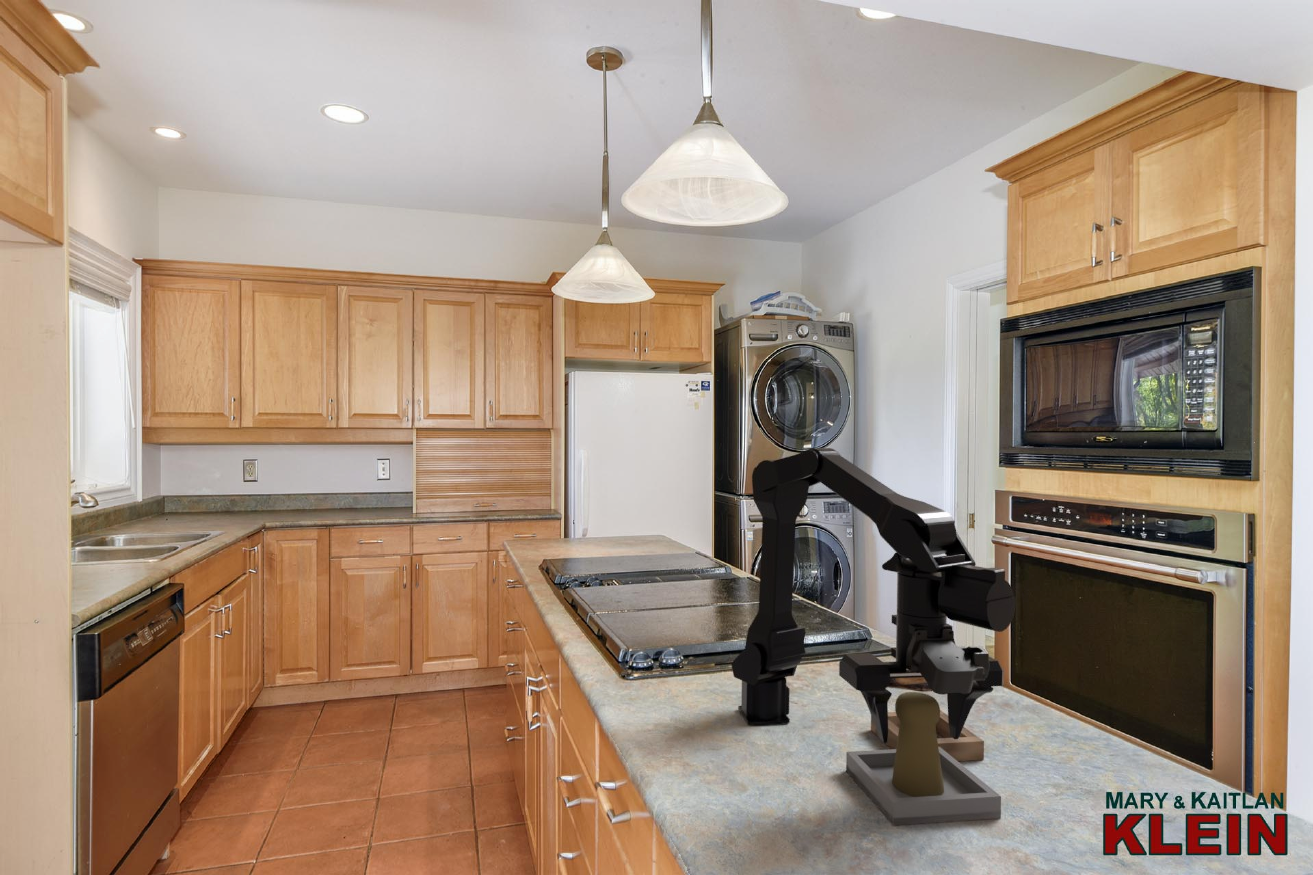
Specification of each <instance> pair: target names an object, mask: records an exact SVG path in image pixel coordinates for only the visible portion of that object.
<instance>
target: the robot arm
mask: <svg viewBox="0 0 1313 875" xmlns="http://www.w3.org/2000/svg"><path fill="white" fill-rule="evenodd" d="M751 475H752V476H751V485H752V497H753V498H752V499H753V501H754V503H755V506H756V508H757V510H758V511H759V513H760V515H761V518H762V524H761V525H762V526H761V548H760V550H761V551H760V574H759V592H758V593H759V595H758V611H757V614H756V615H755V617H754V619H752V620H753V621H751V624H750V625H749V627H748V629H747V634H746V638H745V639H746V640H745V646H744V649H743V650H742V651H741V652H740V653H739V654H738V655H737V656H736V657H735V659H734V660H732V662H731V669H732V673H733V677H734V678H735V679H737V680H739V681H741V705H738V707H737V709H738V711H739V713H740V714H741V716H742V717H743V718H744V720H745V722H746V723H747V724H748V725H749V726H754V725H755V726H756V725H773V724H775V725H776V724H780V725H781V724H789V723H790V721H791V720H790V718H789V717H788V715H789V714H790V695H791V694H790V687H788V686H787V677H794V676H795V673H796V670H797V668H798V665H799V664H800V663H801V661H802V657H803V655H805V654H806V649H805V638H806V628H805V627H804V626H799V624H798V623H797V622H796V619H795V617H794V615H793V592H794V591H793V588H794V568H795V550H796V549H795V548H796V547H795V546H796V525H797V524H796V523H797V522H796V521H797V519H798V516H799V515H800V514H801V512H802V509H803V508H804V506H805V505H806V503H807V501H808V495H809V489H810V487H813V486H815V485H818V484H820V483H821V484H822V485H823V486H825V487H827V489H829V490H830V491H832V492H833V493H835V495H838V496H839V497H840V498H842V499H843V500H844V501H846V502H847V503H848V504H850V505H851V506H852V507H854V508H855V509H856V510H858V511H860V512H861V513H862V514H863V515H865V516H866V517H868V519H870V520H871V521H872V522H873V523H874V524H875V526H876V527H877V531H878V533H879V535H880V537H881V538H882V539H883V540H884V541H885V542H886V543H887V544H888V546H890V547H891V548H892V550H893V551H894V552H895V553H894V554H893V556H892V557H891V558H890V559H887V560H886V561H885V562H884V563H882V565H881V568H882V570H884V571H888V572H894V573H897V579H896V582H897V583H896V585H897V586H896V614H891V624H893V625H894V626H896V627H895V628H896V633H895V634H896V635H895V636H896V637H895V638H896V641H895V642H896V643H895V646H894V647H891V648H890V656H891V657H893V658H894V659H895V661H882V660H881V659H880V658H878V656H875V655H874V654H872V653H870V652H869V653H868V652H867V653H863V652H862V653H845V654H843V656H842V657H841V659H840V661H839V664H838V665H839V668H838V669H839V670H838V672H839V674H838V675H839V677H841V678H842V679H843V680H844V681H845V682H846V683H848V684H849V685H850V686H851V687H852V688H854V689H855V690H856V691H859V692H860V693H861V695H862V697H863V699H864V701H865V703H866V706H867V708H868V710H869V713H870V717H871V716H872V719H873V721H874V724H875V727H876V729H877V732H878V735H879V737H880V738H879V737H878V738H879V739H880V741H881V742H882V743H883V744H886V743H887V739H888V712H889V710H888V708H889V707H888V706H889V705H888V703H889V701H890V699H891V697H892V695H893V694H892V692H891V691H889V690H888V689H887V688H889V687H888V685H889V684H890V678H917V677H923V678H924V679H925V680H926V682H927V683H928V686H929V688H930V689H931V690H932V691H931V692H933V693H934V694H938V695H944V696H945V695H946V698H947V703H946V704H947V715H948V723H949V729H950V735H951V737H952V738H953V739H958V738H959V736H960V733H961V731H962V729H963V727H965V723H966V721H967V719H968V717H969V714H970V712H971V710H972V709H973V706H974V704H975V703H976V701H977V700H978V699H979V698H980V697H982V696H984V695H986V694H990V693H992V692H993V691H994V687H1003V685H1004V683H1005V682H1004V679H1005V678H1004V676H1005V675H1004V673H1005V672H1004V668H1003V666H1002V665H1001V663H1000V662H999V660H997V659H995V658H993V657H991V656H990V654H989V652H988V651H987V650H986V648H985V647H984V646H982V645H979V646H975V645H973V646H972V645H971V646H967V647H966V645H965V646H963V645H961V646H960V645H959V646H958V645H956V642H955V641H956V640H955V637H954V636H955V635H954V633H955V632H954V629H953V625H951V624H949V623H947V621H948V620H950V621H954V622H957V623H962V624H964V625H965V624H966V625H970V626H973V627H977V628H981V629H985V630H990V631H993V632H999V633H1002V632H1003V631H1006V630H1007V628H1009V627H1010V624H1012V621H1013V619H1014V616H1015V612H1016V606H1017V598H1016V597H1015V595H1014V591H1013V587H1012V586H1011V584H1010V582H1008V581H1007V580H1006V571H1005V568H1004V569H1003V568H999V567H983V566H977V565H976V561H975V560H974V558H973V556H972V555H971V553H970V551H969V550H968V548H967V547H966V545H965V543H964V542H963V540H962V539H961V537H960V535H959V534H958V532H957V529H956V524H955V523H956V521H955V520H954V517H953V516H952V515H951V514H950V513H949V512H948V511H945V510H943V509H942V508H939V507H937V506H934V505H932V504H929V503H927V502H926V501H925V502H924V501H922V500H917V499H914V498H911V497H907V496H904V495H902V494H900V493H897V491H894V490H893V489H891V488H890V487H889V486H887V485H886V484H884V483H883V482H881V481H879V480H878V479H876V478H875V477H873V476H872V475H870V474H869V473H867V472H866V471H864V470H863V469H861V468H860V467H858V466H857V465H856V464H854V463H852V462H851V461H850V460H848V459H846V458H845V457H843V456H842V455H841V454H840V453H839V451H837V450H835V449H834V448H831V447H812V448H808V449H807V450H803V451H802V452H799V453H797V454H793V455H788V456H786V457H782V458H779V459H765V460H762V461H760V462H758V464H757V465H756V467H754V468H753V471H752V474H751ZM940 555H942V556H940ZM947 619H948V620H947ZM906 669H908V670H906Z"/></svg>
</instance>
